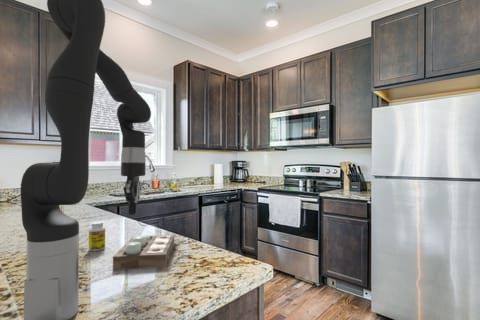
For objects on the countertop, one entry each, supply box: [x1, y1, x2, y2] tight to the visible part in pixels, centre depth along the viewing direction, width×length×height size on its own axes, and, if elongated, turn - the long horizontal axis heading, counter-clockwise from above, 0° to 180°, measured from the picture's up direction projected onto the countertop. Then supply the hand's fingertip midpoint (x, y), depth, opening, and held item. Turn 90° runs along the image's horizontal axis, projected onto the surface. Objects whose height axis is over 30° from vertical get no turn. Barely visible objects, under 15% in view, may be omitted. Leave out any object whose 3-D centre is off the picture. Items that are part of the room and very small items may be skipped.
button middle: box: [131, 235, 146, 247], centre depth 94 cm, size 5×5×4 cm
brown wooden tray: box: [112, 234, 175, 271], centre depth 94 cm, size 23×16×4 cm
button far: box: [141, 234, 151, 241], centre depth 101 cm, size 5×5×4 cm
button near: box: [125, 242, 141, 255], centre depth 86 cm, size 5×5×4 cm
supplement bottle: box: [88, 221, 106, 252], centre depth 101 cm, size 6×6×10 cm
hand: (132, 214), depth 86 cm, fingers closed
